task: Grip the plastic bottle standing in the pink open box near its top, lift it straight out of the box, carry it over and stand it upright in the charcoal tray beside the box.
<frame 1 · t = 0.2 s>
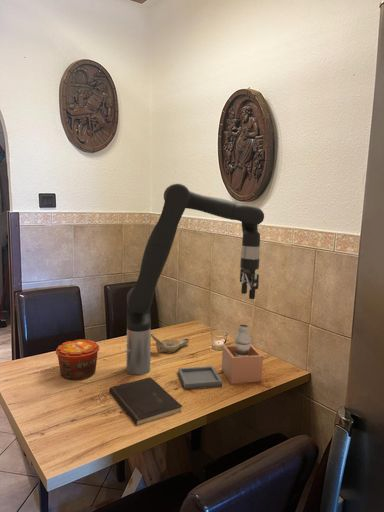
hand: (247, 296, 153), 29 cm above the table, tool pointing down, fingers open, 8 cm apart
tray: (199, 379, 142), on the table
food container: (78, 373, 144), on the table
hardcover book: (144, 403, 125), on the table
oil lamp: (170, 350, 169), on the table
pink open box: (241, 375, 146), on the table
plastic bottle: (240, 375, 146), resting in pink open box
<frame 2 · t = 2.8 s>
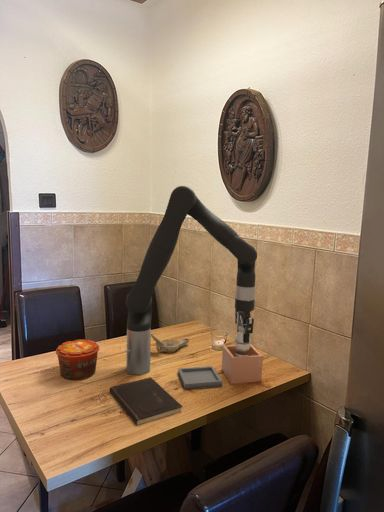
hand: (242, 339, 144), 15 cm above the table, tool pointing down, fingers closed on plastic bottle, 6 cm apart
plastic bottle: (240, 375, 146), resting in pink open box, touching gripper
everything else where it was.
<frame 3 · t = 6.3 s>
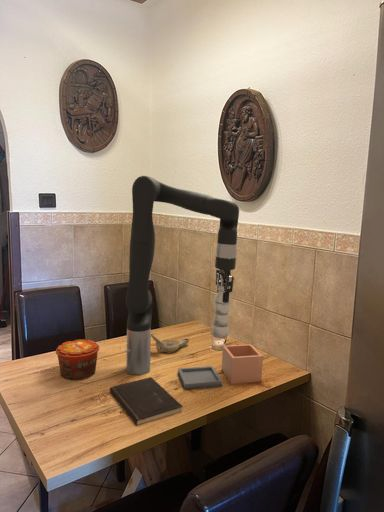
hand: (222, 299, 140), 31 cm above the table, tool pointing down, fingers closed on plastic bottle, 6 cm apart
plastic bottle: (219, 337, 142), point 16 cm above the table, touching gripper
everything else where it was.
when the fingers open (17 cm above the table, at t = 9.8 s): plastic bottle drops 2 cm, resting on tray.
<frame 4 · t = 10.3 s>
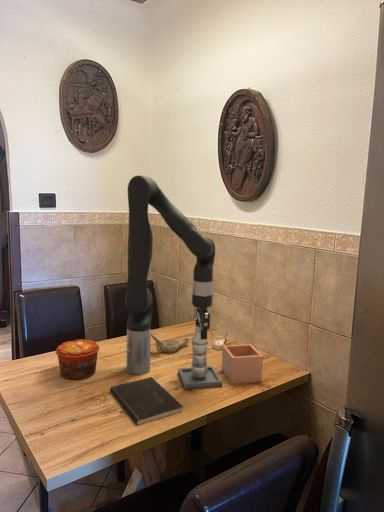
hand: (200, 335, 139), 18 cm above the table, tool pointing down, fingers open, 8 cm apart
plastic bottle: (199, 377, 142), point 1 cm above the table, touching tray
everything else where it was.
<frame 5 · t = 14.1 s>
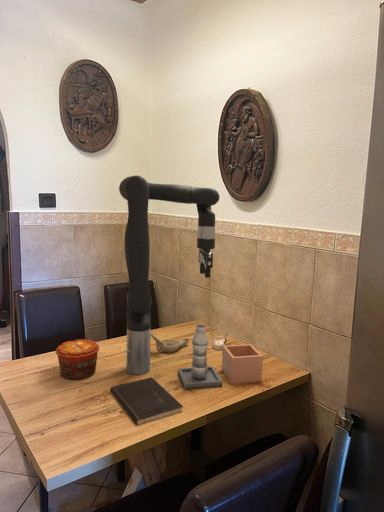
hand: (204, 275, 157), 36 cm above the table, tool pointing down, fingers open, 8 cm apart
nothing on the table moved.
at the end: plastic bottle inside the target area on the tray (0.5 cm from its centre), point 0.6 cm above the tray's base; plastic bottle tilted 1°; the gripper is holding nothing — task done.
